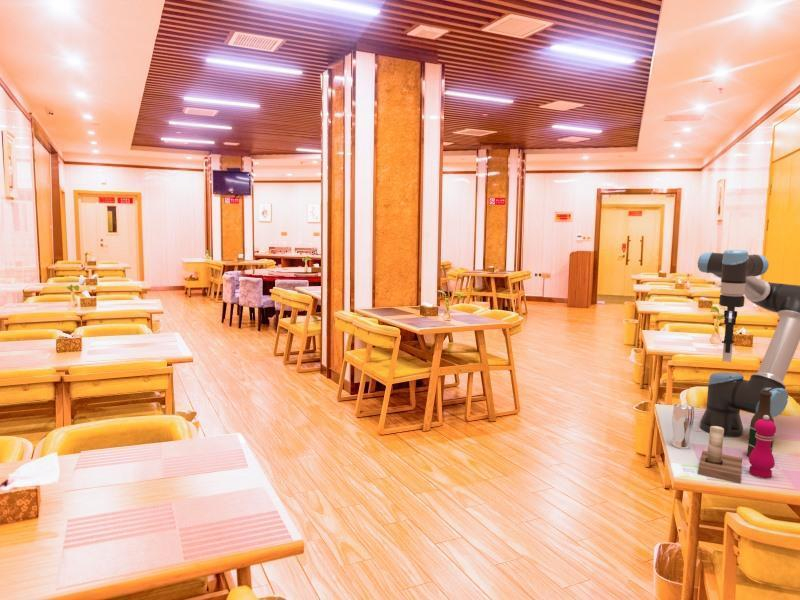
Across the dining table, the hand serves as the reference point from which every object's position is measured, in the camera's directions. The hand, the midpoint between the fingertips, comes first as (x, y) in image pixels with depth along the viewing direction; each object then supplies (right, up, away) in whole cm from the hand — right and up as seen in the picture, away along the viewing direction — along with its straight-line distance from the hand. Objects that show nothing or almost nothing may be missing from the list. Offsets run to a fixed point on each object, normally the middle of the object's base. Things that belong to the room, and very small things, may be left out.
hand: (726, 361), depth 205 cm
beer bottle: (+11, -34, 0) cm, 36 cm away
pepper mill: (+3, -36, -14) cm, 39 cm away
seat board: (-8, -35, -11) cm, 38 cm away
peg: (-10, -35, -10) cm, 38 cm away
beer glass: (-12, -32, +9) cm, 36 cm away
